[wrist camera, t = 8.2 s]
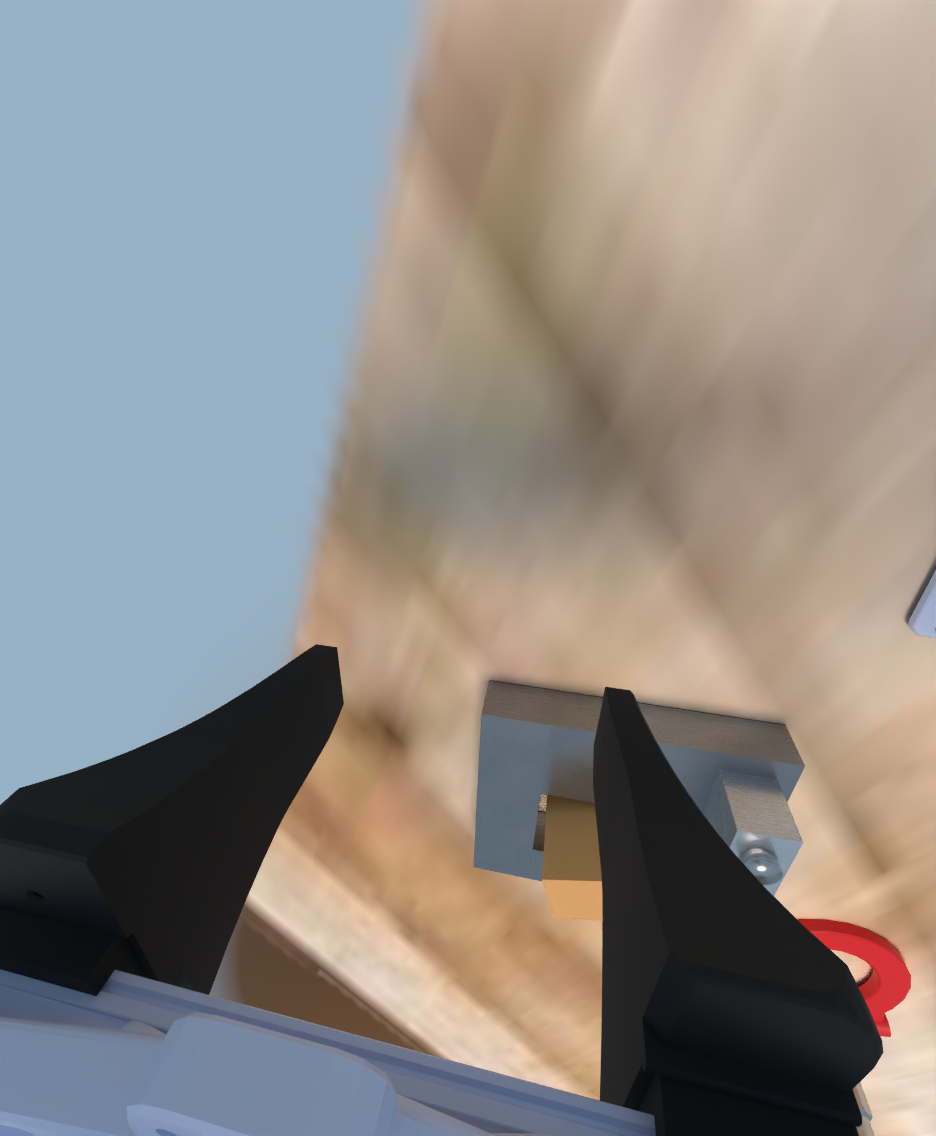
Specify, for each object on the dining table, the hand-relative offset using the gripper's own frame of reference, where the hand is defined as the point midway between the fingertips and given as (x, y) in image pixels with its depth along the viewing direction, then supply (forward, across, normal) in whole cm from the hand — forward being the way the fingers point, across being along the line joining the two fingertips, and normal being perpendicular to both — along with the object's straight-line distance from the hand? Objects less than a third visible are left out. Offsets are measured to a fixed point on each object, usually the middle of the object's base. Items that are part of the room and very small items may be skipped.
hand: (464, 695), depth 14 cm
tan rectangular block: (+10, -5, +15) cm, 19 cm away
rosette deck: (+10, -6, +14) cm, 18 cm away
